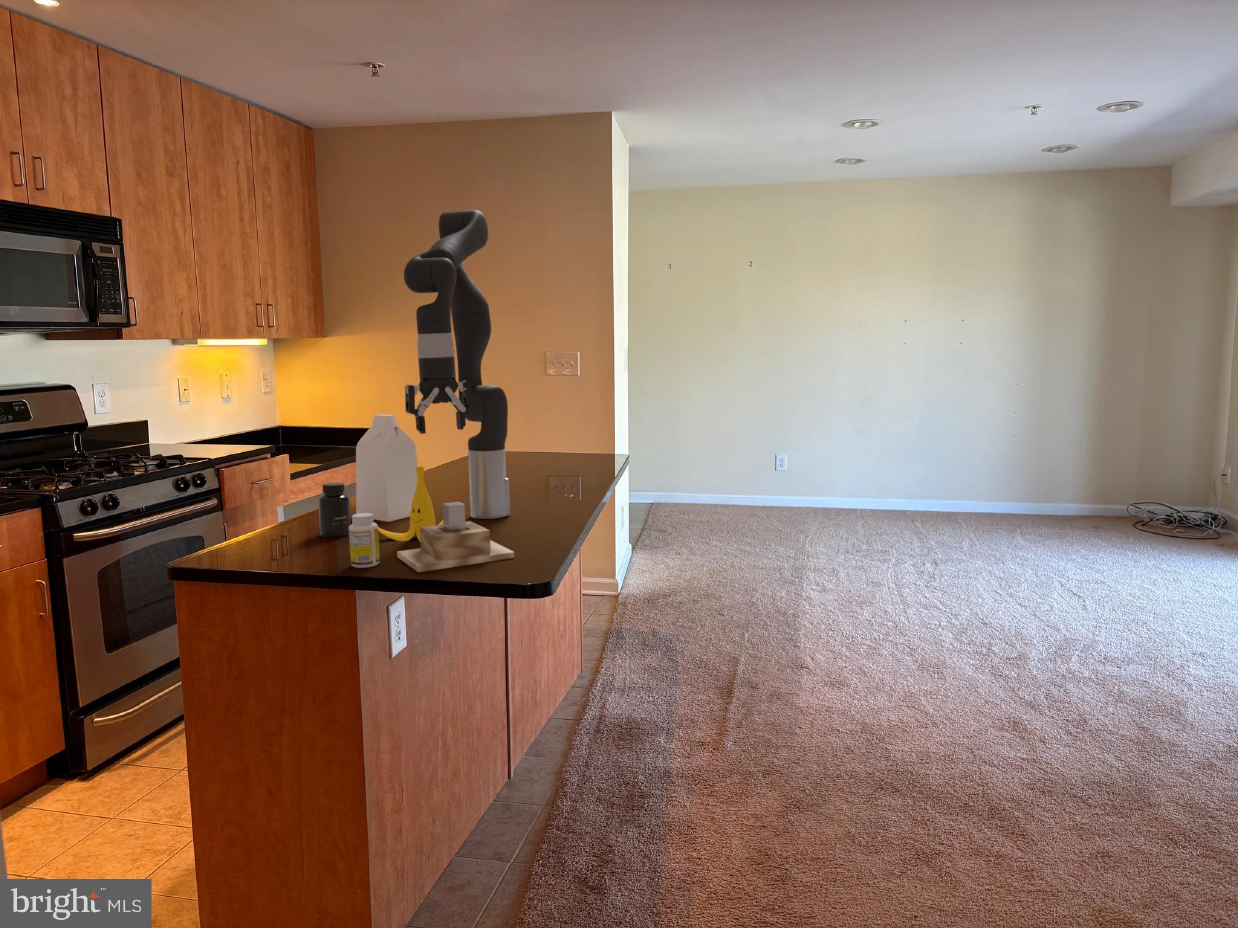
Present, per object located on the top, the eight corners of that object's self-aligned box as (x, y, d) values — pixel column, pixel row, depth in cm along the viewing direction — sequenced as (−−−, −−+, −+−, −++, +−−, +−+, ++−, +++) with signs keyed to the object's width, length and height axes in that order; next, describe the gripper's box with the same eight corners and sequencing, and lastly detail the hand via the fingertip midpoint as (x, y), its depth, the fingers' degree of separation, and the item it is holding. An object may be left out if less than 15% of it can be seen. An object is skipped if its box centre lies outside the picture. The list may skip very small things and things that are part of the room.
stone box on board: (488, 544, 182) (487, 517, 181) (514, 557, 170) (513, 528, 169) (397, 557, 171) (396, 528, 171) (418, 572, 159) (417, 541, 159)
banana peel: (444, 547, 180) (441, 471, 178) (372, 541, 187) (368, 467, 184) (483, 531, 195) (481, 461, 193) (415, 526, 202) (412, 458, 200)
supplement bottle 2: (369, 559, 169) (366, 510, 168) (385, 564, 166) (382, 514, 164) (345, 565, 165) (342, 515, 164) (361, 570, 162) (358, 518, 160)
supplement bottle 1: (341, 538, 189) (338, 486, 187) (314, 537, 190) (311, 486, 189) (356, 532, 196) (354, 481, 194) (330, 531, 197) (327, 481, 195)
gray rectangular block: (460, 548, 173) (458, 501, 171) (466, 552, 170) (464, 504, 168) (444, 551, 171) (442, 503, 170) (450, 554, 168) (448, 505, 167)
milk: (422, 513, 217) (417, 414, 213) (388, 521, 207) (383, 417, 204) (390, 509, 223) (385, 412, 220) (356, 516, 214) (350, 416, 210)
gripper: (461, 353, 182) (465, 426, 185) (397, 356, 174) (403, 433, 177) (474, 353, 176) (479, 429, 179) (409, 357, 168) (415, 436, 171)
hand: (441, 431), depth 178 cm, fingers open, 8 cm apart
